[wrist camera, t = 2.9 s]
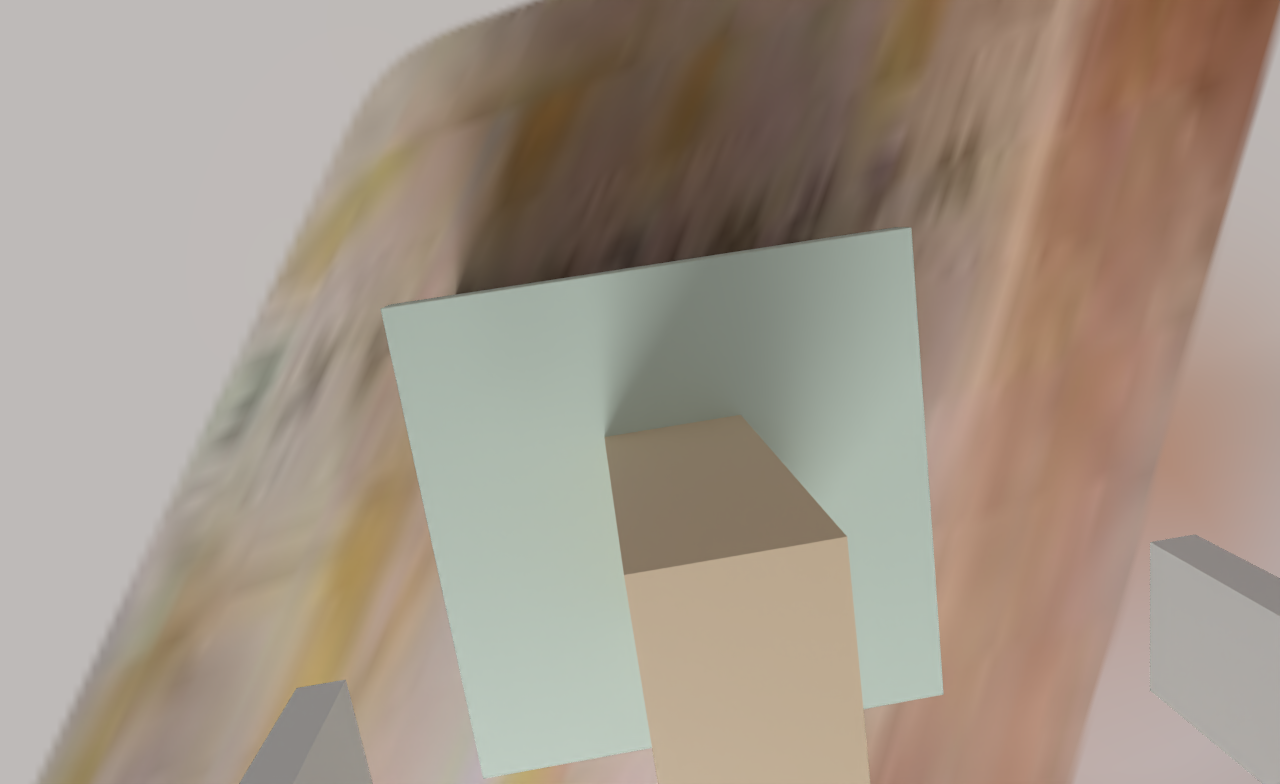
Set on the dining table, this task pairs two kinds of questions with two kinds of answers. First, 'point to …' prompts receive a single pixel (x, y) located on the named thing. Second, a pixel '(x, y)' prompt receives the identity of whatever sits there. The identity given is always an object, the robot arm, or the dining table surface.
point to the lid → (681, 508)
